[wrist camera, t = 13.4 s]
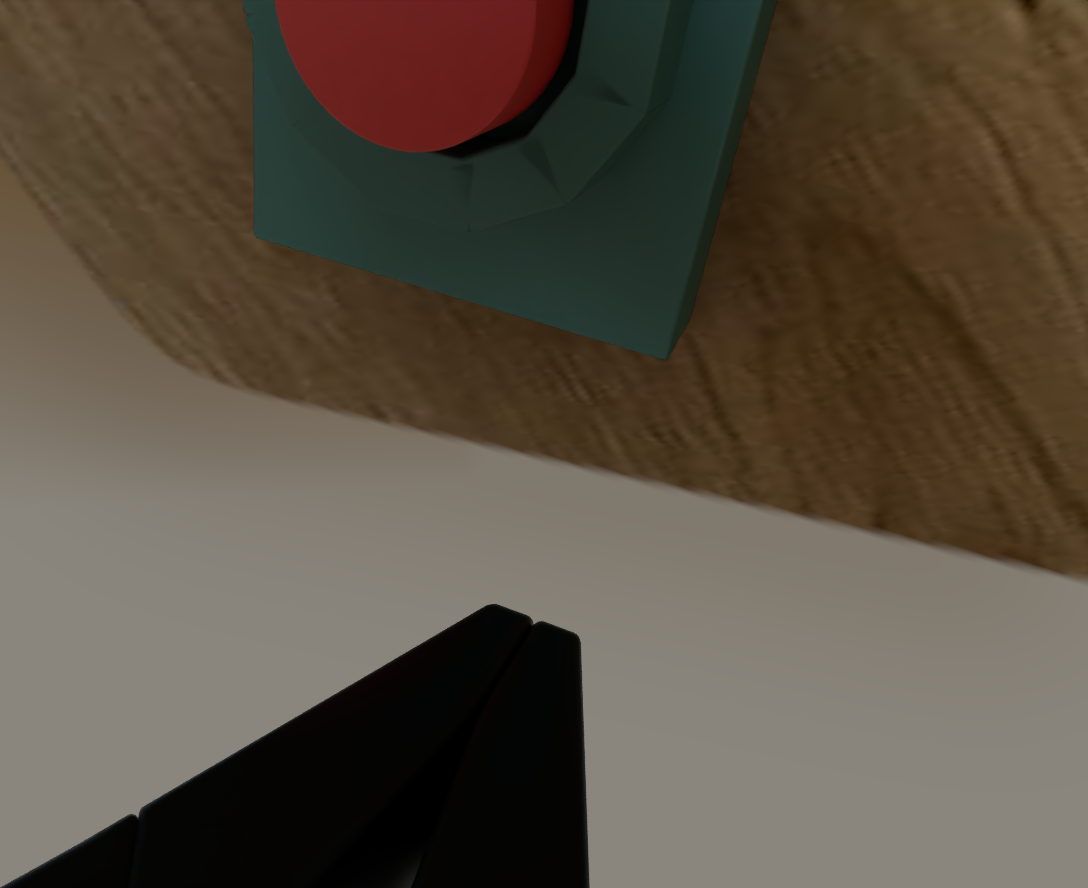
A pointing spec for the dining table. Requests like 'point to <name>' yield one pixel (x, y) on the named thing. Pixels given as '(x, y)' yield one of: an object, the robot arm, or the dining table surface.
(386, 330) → the dining table surface
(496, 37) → the button
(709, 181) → the button box
